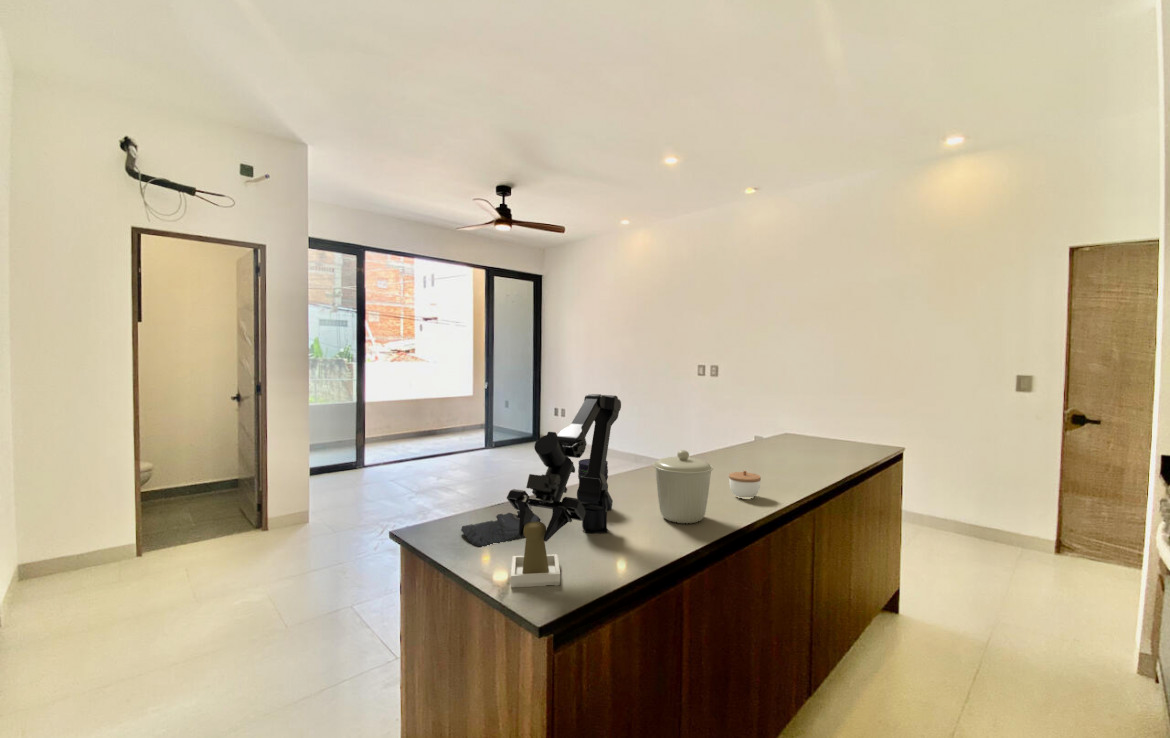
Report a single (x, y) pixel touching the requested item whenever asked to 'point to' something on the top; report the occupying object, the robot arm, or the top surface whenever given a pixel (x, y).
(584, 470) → the storage jar
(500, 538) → the dark slate chunk
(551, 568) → the tray
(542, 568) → the olive brown pawn
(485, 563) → the top surface
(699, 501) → the canister
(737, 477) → the lidded jar
